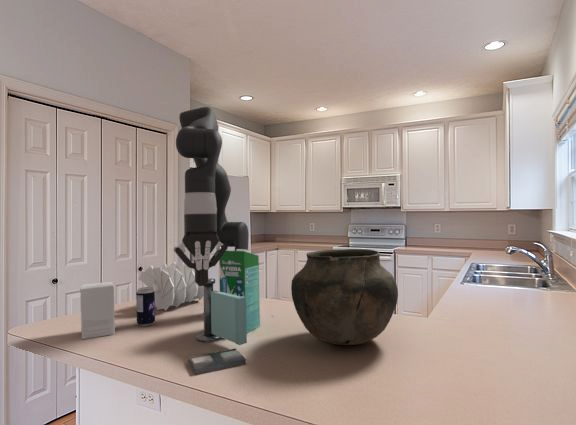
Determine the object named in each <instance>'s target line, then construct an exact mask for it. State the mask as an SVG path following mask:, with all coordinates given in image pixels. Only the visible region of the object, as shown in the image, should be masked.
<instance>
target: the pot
mask: <svg viewBox="0 0 576 425" xmlns="http://www.w3.org/2000/svg"><path fill="white" fill-rule="evenodd" d="M306 259H307V260H306V261H305V264H304V266H303V267H302V269H300V270H299V271H298V272H297V273H296V274H295V275H294V276H293V277H292V280H291V287H290V288H291V289H290V290H291V298H292V302H293V305H294V309H295V311H296V313H297V315H298V317H299V320H300V321H301V323H302V324H303V326H304V328H305V329H306V330H307V331H308V332H309V333H310V335H312V336H313V337H315V338H316V339H318V340H320V341H323V342H324V343H328V344H332V345H339V346H352V345H362V344H364V343H367V342H369V341H371V340H374V339H376V338H377V337H378V336H379V335H381V333H383V332H384V331H385V330H386V328H387V326H388V324H389V323H390V322H391V318H392V316H393V314H394V313H395V310H396V307H397V304H398V297H399V291H398V290H399V289H398V284H397V282H396V279H395V277H394V275H393V274H392V273H391V272H390V271H388V270H387V269H386V268H385V267H383V266H382V264H381V261H380V252H379V251H378V250H373V249H367V248H343V249H339V248H337V249H325V250H324V249H323V250H321V249H320V250H316V251H311V252H309V251H308V252H306Z"/></svg>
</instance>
